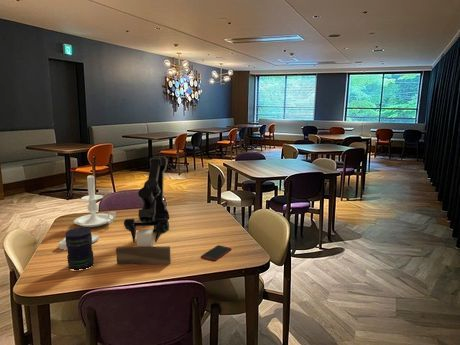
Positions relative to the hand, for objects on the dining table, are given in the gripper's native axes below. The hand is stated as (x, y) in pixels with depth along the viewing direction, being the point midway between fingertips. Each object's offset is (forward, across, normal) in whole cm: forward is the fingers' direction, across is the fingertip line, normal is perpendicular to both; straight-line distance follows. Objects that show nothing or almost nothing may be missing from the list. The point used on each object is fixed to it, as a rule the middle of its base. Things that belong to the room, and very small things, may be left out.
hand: (144, 242), depth 151 cm
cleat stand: (+5, 0, +7) cm, 8 cm away
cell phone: (+2, +30, +10) cm, 32 cm away
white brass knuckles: (-8, -36, +20) cm, 43 cm away
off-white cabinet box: (+5, 0, +7) cm, 8 cm away
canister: (-34, -6, +46) cm, 58 cm away
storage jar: (+9, -26, +2) cm, 27 cm away
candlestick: (-27, -36, +39) cm, 60 cm away
